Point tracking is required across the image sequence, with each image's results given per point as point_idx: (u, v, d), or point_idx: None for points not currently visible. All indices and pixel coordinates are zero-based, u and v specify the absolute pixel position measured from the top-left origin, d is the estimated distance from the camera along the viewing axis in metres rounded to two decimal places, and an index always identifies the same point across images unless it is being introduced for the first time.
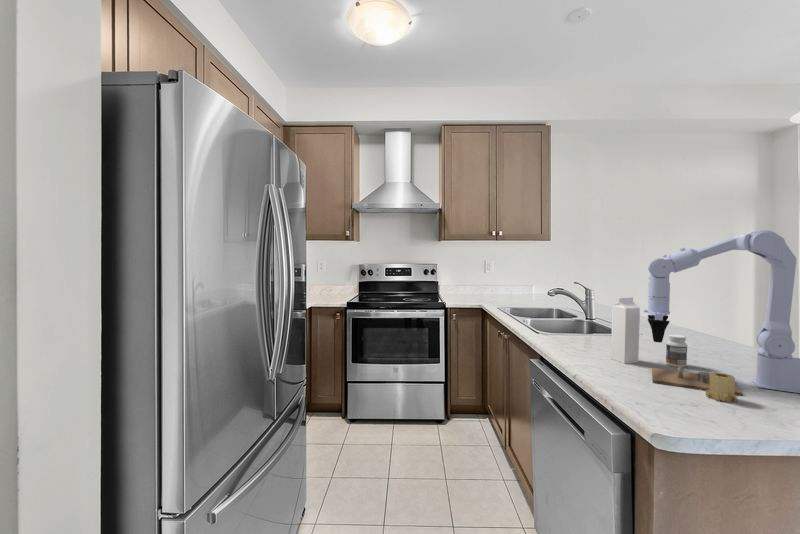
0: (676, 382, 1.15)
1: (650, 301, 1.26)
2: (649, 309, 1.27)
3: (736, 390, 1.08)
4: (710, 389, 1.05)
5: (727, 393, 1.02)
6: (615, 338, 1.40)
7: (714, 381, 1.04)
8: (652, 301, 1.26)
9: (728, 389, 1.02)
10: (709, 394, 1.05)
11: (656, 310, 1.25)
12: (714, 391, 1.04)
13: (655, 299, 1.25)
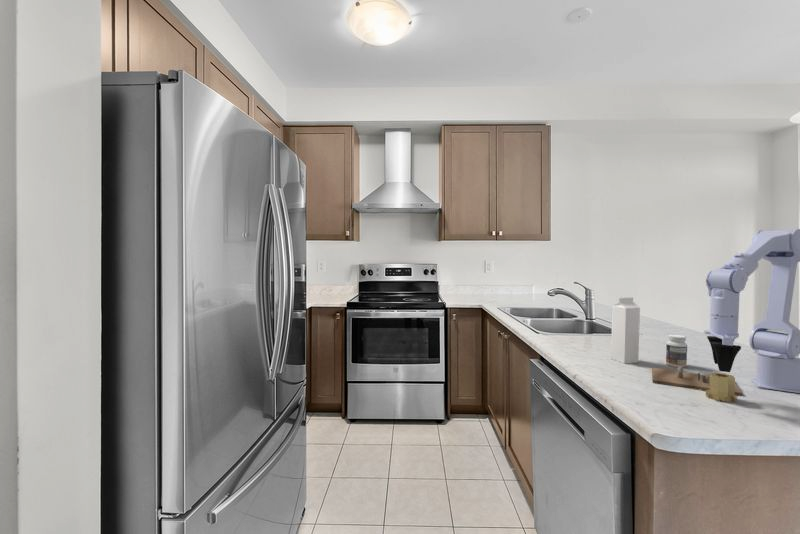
0: (676, 382, 1.15)
1: (714, 320, 1.03)
2: (712, 330, 1.04)
3: (736, 390, 1.08)
4: (710, 389, 1.05)
5: (727, 393, 1.02)
6: (615, 338, 1.40)
7: (714, 381, 1.04)
8: (717, 321, 1.03)
9: (728, 389, 1.02)
10: (709, 394, 1.05)
11: (722, 332, 1.02)
12: (714, 391, 1.04)
13: (721, 318, 1.02)
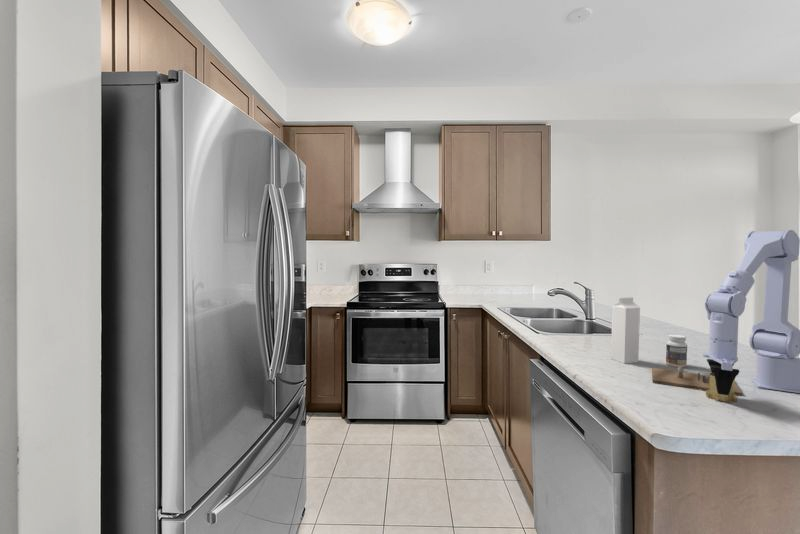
0: (676, 382, 1.15)
1: (713, 344, 1.04)
2: (711, 354, 1.04)
3: (736, 390, 1.08)
4: (710, 389, 1.05)
5: None
6: (615, 338, 1.40)
7: (714, 381, 1.04)
8: (716, 345, 1.03)
9: None
10: (709, 394, 1.05)
11: (721, 356, 1.02)
12: (714, 391, 1.04)
13: (720, 342, 1.02)
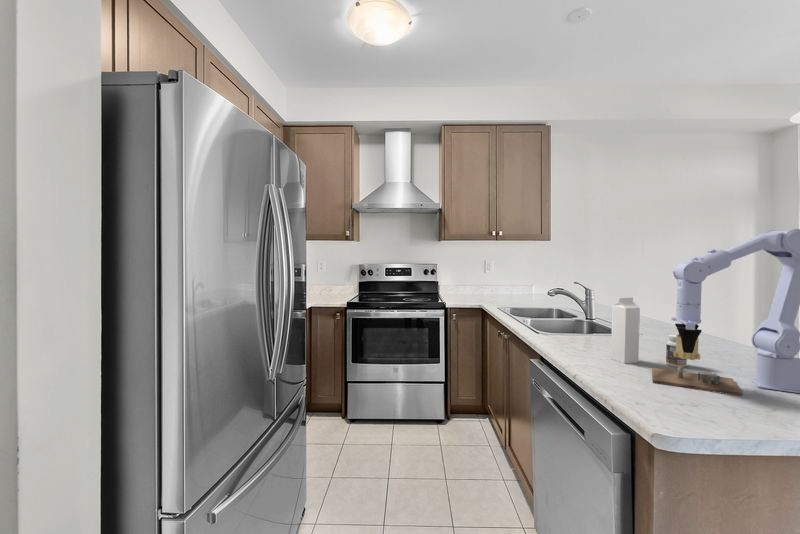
0: (676, 382, 1.15)
1: (680, 308, 1.15)
2: (678, 317, 1.16)
3: (736, 390, 1.08)
4: (677, 349, 1.17)
5: None
6: (615, 338, 1.40)
7: (680, 341, 1.16)
8: (682, 308, 1.15)
9: None
10: (676, 353, 1.17)
11: (686, 318, 1.14)
12: (680, 350, 1.16)
13: (685, 306, 1.14)
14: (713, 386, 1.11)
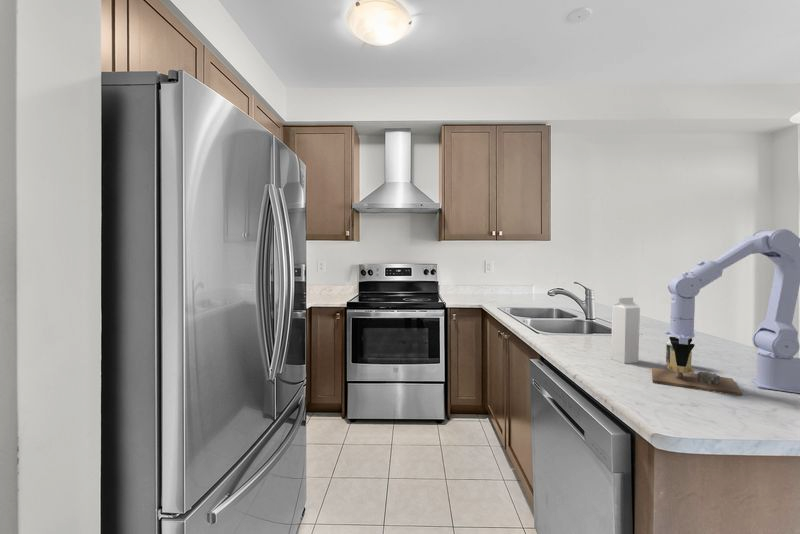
0: (676, 382, 1.15)
1: (673, 322, 1.18)
2: (672, 331, 1.19)
3: (736, 390, 1.08)
4: (671, 362, 1.19)
5: None
6: (615, 338, 1.40)
7: (674, 355, 1.18)
8: (675, 323, 1.17)
9: None
10: (670, 366, 1.19)
11: (680, 332, 1.16)
12: (674, 364, 1.18)
13: (679, 321, 1.17)
14: (713, 386, 1.11)
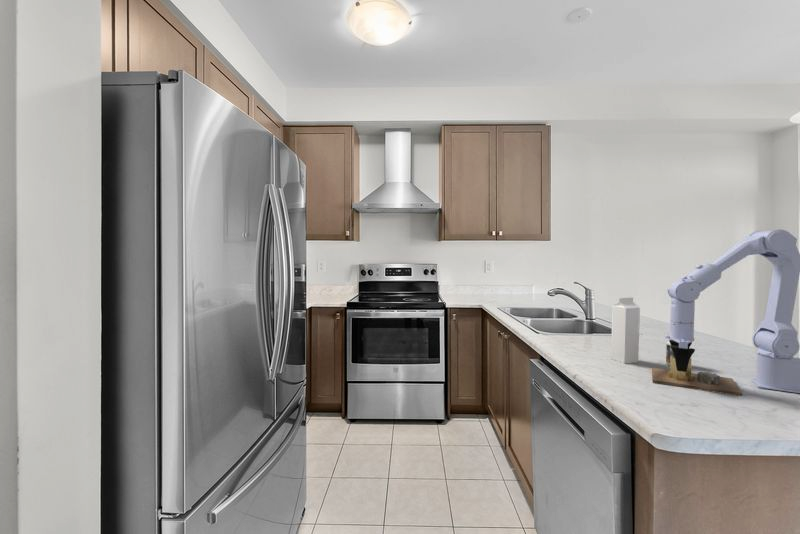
0: (676, 382, 1.15)
1: (673, 326, 1.18)
2: (672, 335, 1.19)
3: (736, 390, 1.08)
4: (670, 369, 1.19)
5: (684, 372, 1.17)
6: (615, 338, 1.40)
7: (674, 362, 1.18)
8: (675, 327, 1.17)
9: None
10: (669, 374, 1.19)
11: (680, 337, 1.17)
12: (674, 371, 1.18)
13: (678, 325, 1.17)
14: (713, 386, 1.11)
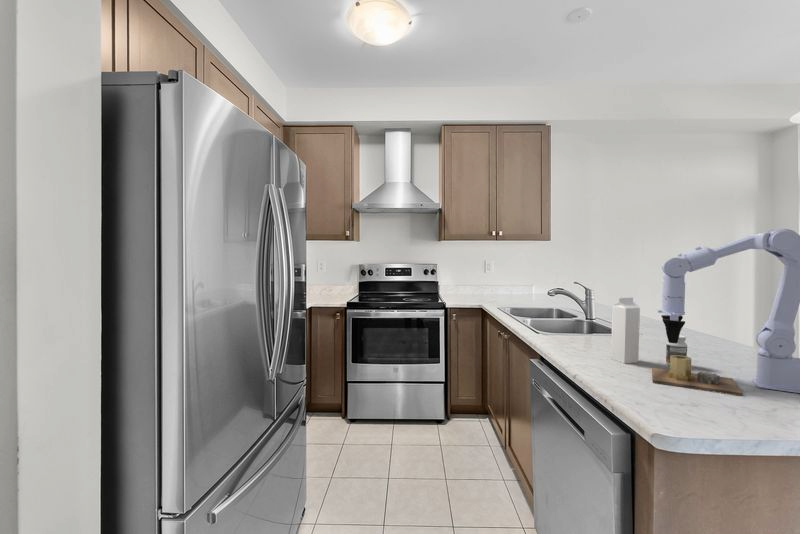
0: (676, 382, 1.15)
1: (665, 301, 1.24)
2: (663, 309, 1.24)
3: (736, 390, 1.08)
4: (670, 369, 1.19)
5: (684, 372, 1.17)
6: (615, 338, 1.40)
7: (674, 362, 1.18)
8: (667, 301, 1.23)
9: (685, 369, 1.16)
10: (669, 374, 1.19)
11: (671, 310, 1.22)
12: (674, 371, 1.18)
13: (670, 299, 1.22)
14: (713, 386, 1.11)
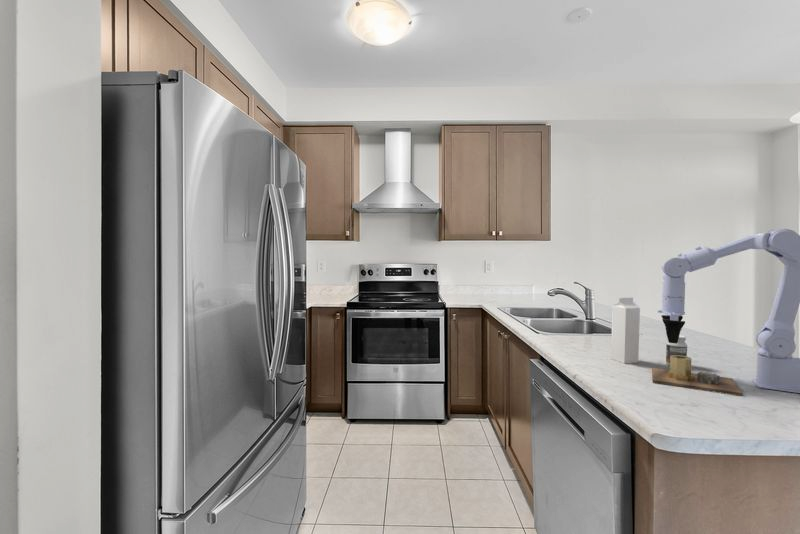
0: (676, 382, 1.15)
1: (665, 301, 1.24)
2: (663, 309, 1.24)
3: (736, 390, 1.08)
4: (670, 369, 1.19)
5: (684, 372, 1.17)
6: (615, 338, 1.40)
7: (674, 362, 1.18)
8: (667, 301, 1.23)
9: (685, 369, 1.16)
10: (669, 374, 1.19)
11: (671, 310, 1.22)
12: (674, 371, 1.18)
13: (670, 299, 1.23)
14: (713, 386, 1.11)
